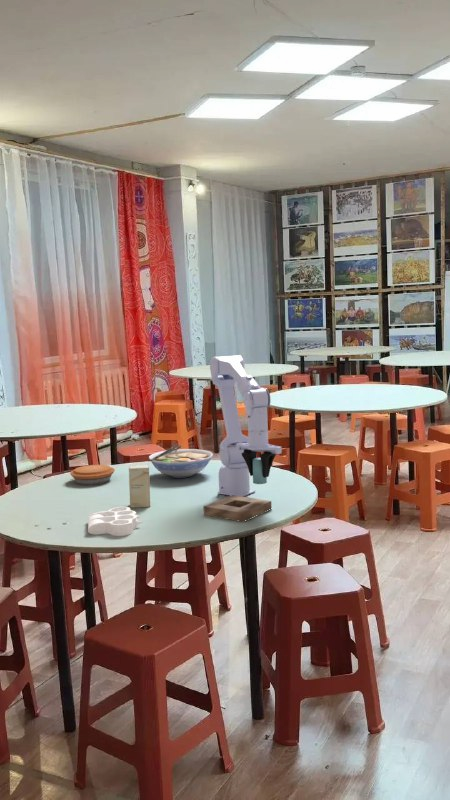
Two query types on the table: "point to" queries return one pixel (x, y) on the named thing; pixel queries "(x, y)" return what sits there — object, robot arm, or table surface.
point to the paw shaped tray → (113, 522)
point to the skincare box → (139, 486)
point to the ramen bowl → (180, 461)
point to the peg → (258, 472)
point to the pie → (92, 474)
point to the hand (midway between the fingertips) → (259, 476)
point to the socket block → (237, 507)
